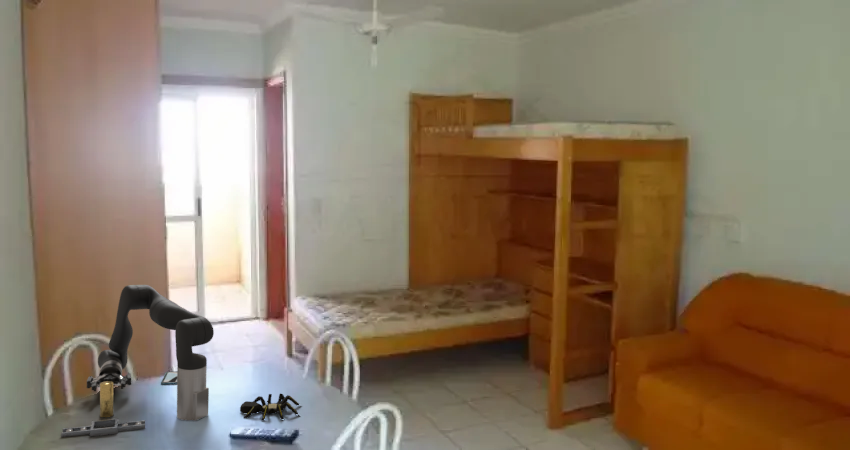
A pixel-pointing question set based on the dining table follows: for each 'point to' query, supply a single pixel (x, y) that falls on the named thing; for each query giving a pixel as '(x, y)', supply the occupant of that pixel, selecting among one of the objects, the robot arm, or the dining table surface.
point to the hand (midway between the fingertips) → (108, 387)
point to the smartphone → (169, 378)
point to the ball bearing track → (103, 431)
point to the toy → (268, 406)
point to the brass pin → (106, 399)
